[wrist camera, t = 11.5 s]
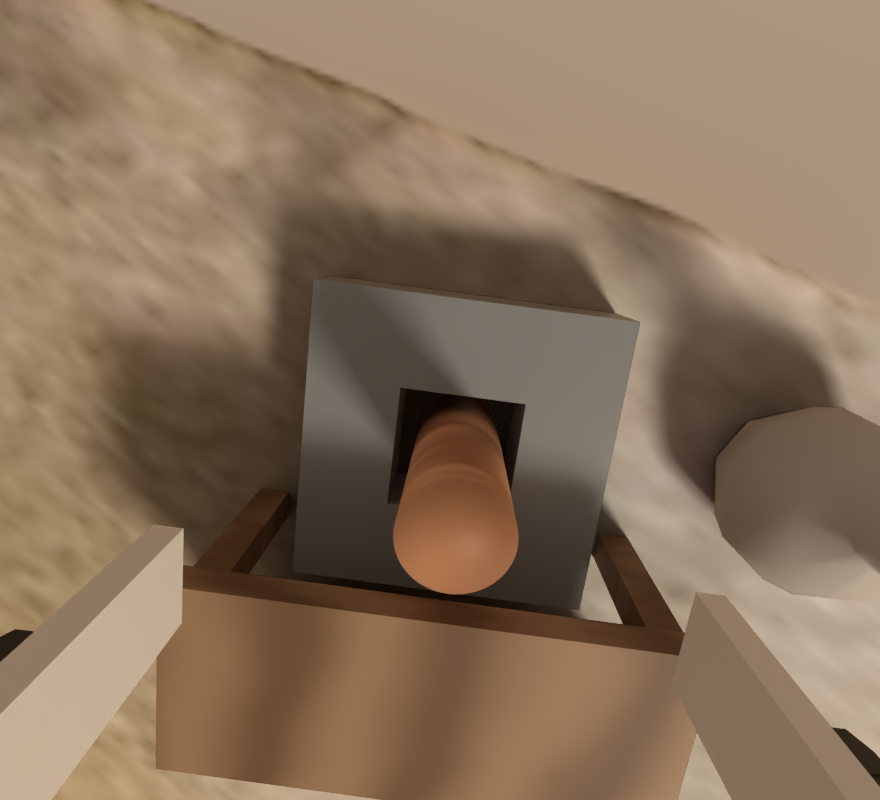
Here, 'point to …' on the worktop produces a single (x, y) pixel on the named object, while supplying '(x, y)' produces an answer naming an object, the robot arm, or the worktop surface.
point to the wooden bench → (417, 685)
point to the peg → (456, 501)
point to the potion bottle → (805, 501)
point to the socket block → (466, 374)
